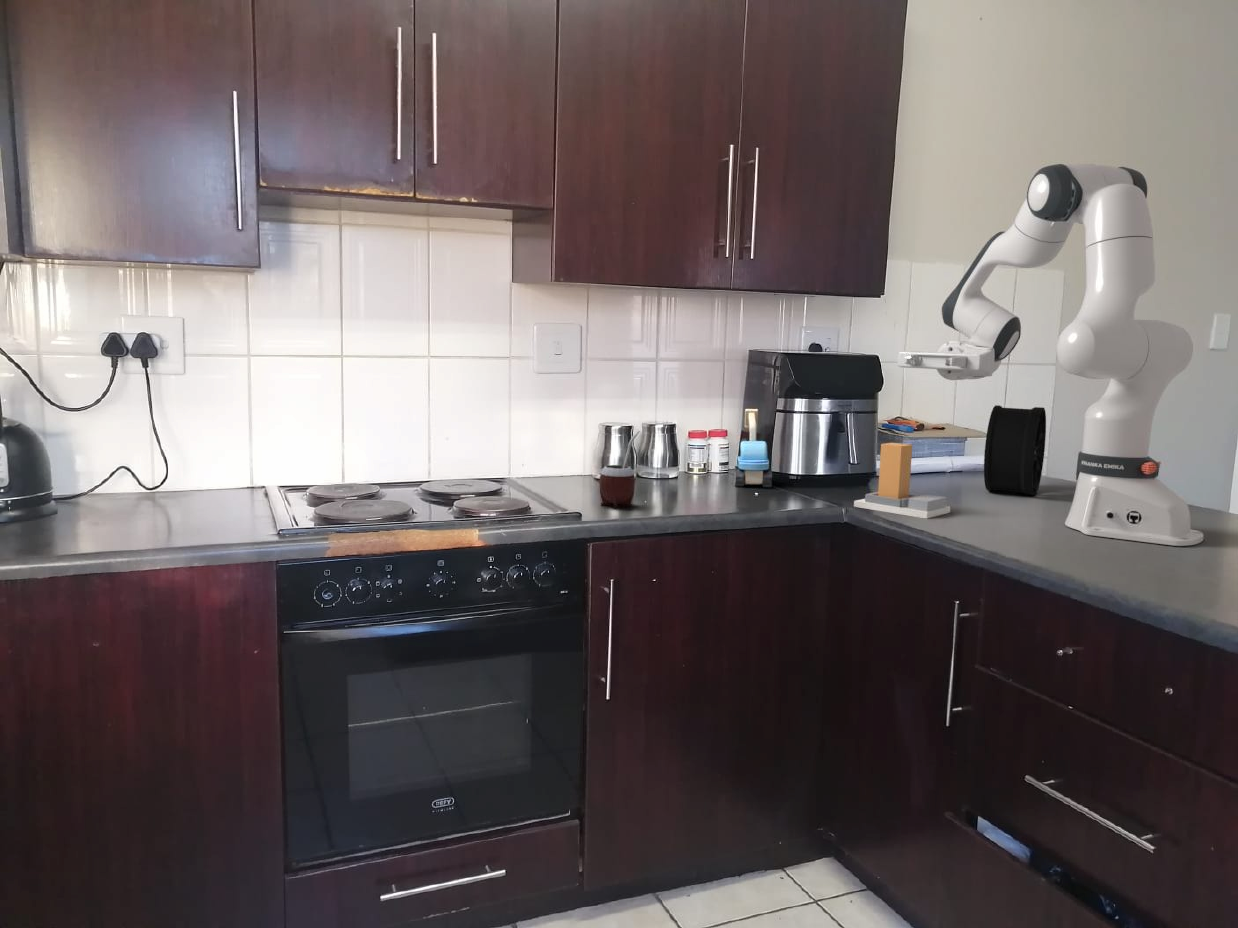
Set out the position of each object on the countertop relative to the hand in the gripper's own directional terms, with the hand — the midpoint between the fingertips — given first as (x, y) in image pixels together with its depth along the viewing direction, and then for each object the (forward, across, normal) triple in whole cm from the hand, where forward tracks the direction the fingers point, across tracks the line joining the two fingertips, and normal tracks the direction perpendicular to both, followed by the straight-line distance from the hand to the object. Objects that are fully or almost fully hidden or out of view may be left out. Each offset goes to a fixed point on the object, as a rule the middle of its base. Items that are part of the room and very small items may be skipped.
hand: (927, 361), depth 201 cm
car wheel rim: (-24, +11, +30) cm, 40 cm away
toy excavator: (+14, -35, +30) cm, 48 cm away
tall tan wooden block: (+17, +3, +29) cm, 34 cm away
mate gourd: (+60, -34, +30) cm, 75 cm away
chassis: (+17, +5, +30) cm, 35 cm away
